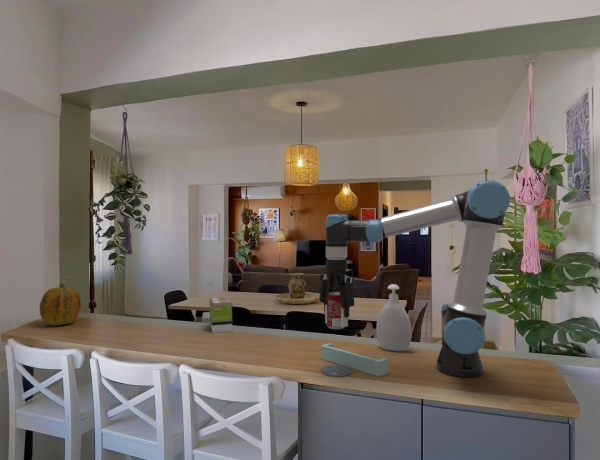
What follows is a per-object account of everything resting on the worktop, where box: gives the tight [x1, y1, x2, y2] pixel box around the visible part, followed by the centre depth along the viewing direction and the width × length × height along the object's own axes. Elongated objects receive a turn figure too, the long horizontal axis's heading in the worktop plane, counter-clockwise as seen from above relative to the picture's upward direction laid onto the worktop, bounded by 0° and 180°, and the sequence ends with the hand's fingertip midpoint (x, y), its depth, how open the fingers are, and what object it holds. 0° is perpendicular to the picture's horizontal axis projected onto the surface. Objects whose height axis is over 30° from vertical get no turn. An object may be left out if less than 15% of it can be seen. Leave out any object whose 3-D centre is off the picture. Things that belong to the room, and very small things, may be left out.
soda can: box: [326, 291, 345, 330], centre depth 141 cm, size 7×7×12 cm
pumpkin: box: [39, 275, 82, 327], centre depth 214 cm, size 19×19×25 cm
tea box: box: [209, 296, 233, 334], centre depth 204 cm, size 15×10×15 cm
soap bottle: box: [375, 283, 413, 353], centre depth 167 cm, size 14×8×27 cm, turn 62°
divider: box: [320, 342, 389, 378], centre depth 147 cm, size 27×5×5 cm, turn 43°
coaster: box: [320, 364, 353, 378], centre depth 141 cm, size 11×11×1 cm
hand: (336, 324), depth 141 cm, fingers closed on soda can, 7 cm apart
